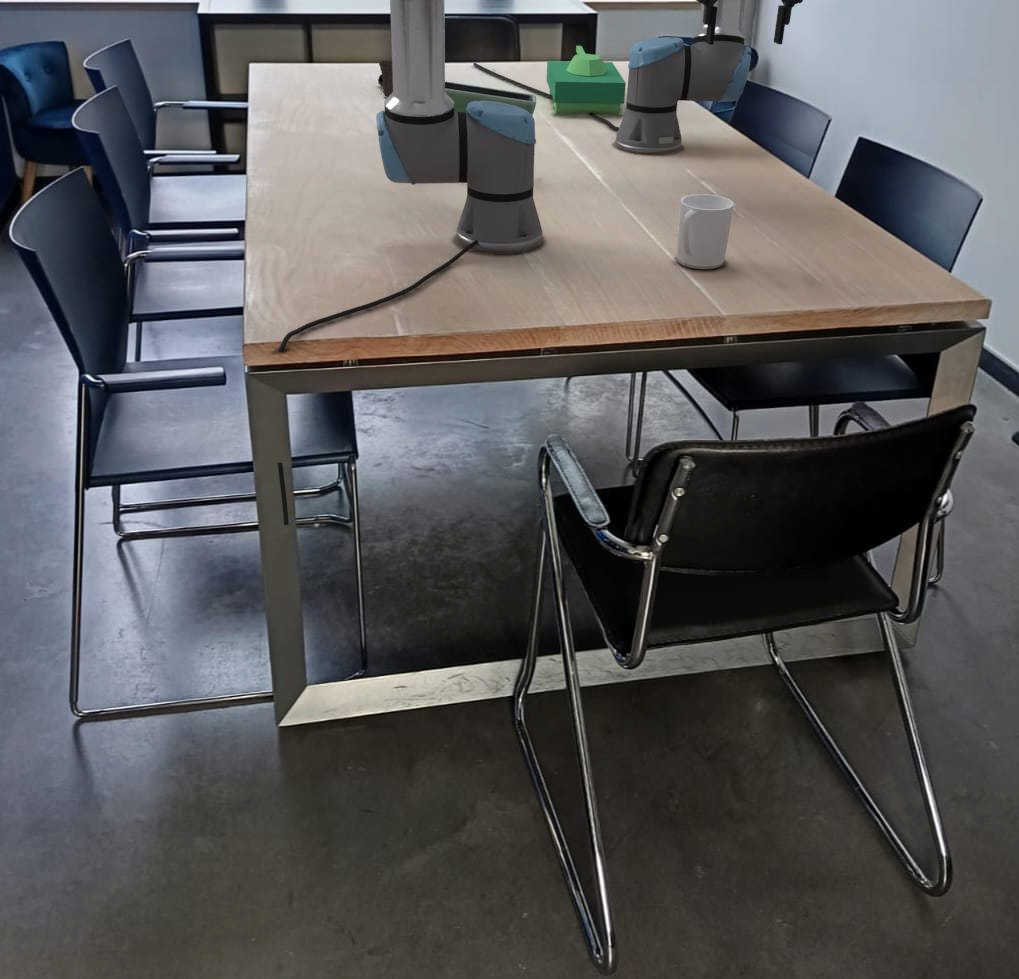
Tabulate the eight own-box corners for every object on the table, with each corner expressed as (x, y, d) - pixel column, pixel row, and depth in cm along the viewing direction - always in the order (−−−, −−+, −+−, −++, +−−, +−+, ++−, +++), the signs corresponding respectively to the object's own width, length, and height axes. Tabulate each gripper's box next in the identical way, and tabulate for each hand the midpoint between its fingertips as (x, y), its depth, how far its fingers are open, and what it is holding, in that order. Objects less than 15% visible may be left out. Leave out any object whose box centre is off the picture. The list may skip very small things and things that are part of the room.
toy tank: (609, 42, 301) (627, 67, 272) (606, 88, 308) (623, 118, 278) (545, 41, 301) (556, 65, 271) (543, 87, 307) (553, 116, 277)
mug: (691, 248, 193) (697, 191, 188) (736, 260, 189) (743, 201, 183) (657, 264, 186) (663, 205, 181) (703, 277, 181) (710, 216, 176)
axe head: (443, 87, 294) (392, 77, 287) (436, 115, 299) (385, 106, 292) (421, 62, 307) (371, 52, 300) (414, 89, 311) (365, 80, 304)
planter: (396, 118, 221) (400, 82, 217) (399, 110, 227) (402, 74, 223) (531, 138, 223) (536, 102, 219) (530, 129, 229) (535, 94, 226)
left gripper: (431, -5, 203) (433, 122, 215) (437, -19, 220) (438, 99, 232) (391, -6, 203) (395, 121, 215) (399, -20, 220) (403, 98, 232)
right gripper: (817, -83, 203) (799, 39, 214) (686, -84, 199) (675, 40, 211) (832, -80, 196) (813, 46, 207) (698, -81, 193) (685, 47, 204)
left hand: (417, 110), depth 224 cm, fingers closed on planter, 7 cm apart
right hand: (743, 43), depth 209 cm, fingers open, 13 cm apart
